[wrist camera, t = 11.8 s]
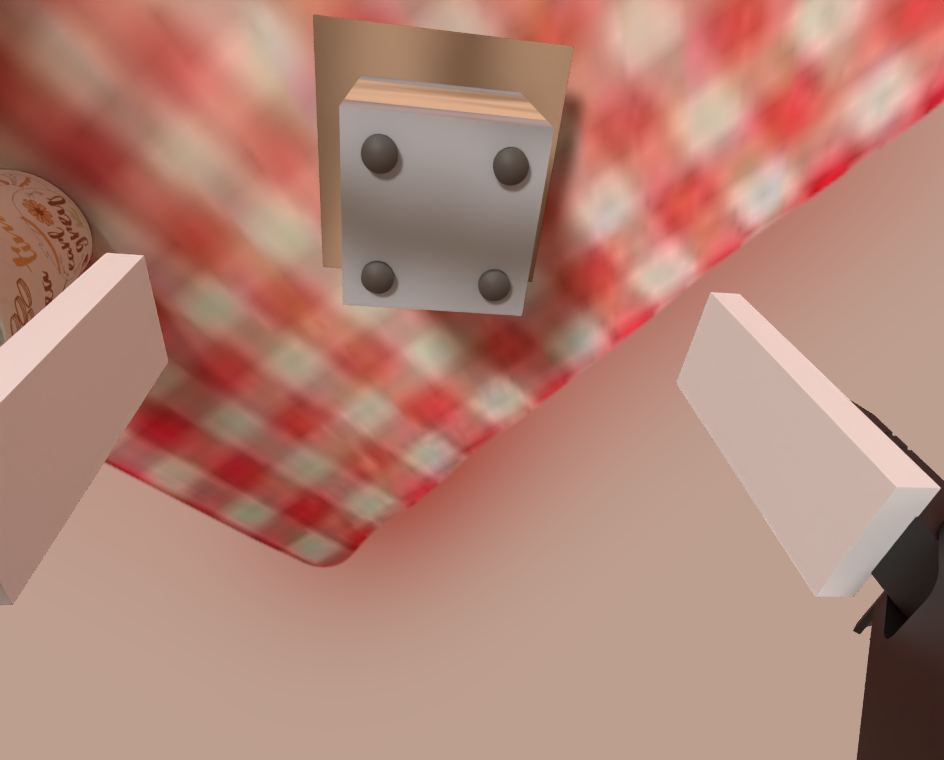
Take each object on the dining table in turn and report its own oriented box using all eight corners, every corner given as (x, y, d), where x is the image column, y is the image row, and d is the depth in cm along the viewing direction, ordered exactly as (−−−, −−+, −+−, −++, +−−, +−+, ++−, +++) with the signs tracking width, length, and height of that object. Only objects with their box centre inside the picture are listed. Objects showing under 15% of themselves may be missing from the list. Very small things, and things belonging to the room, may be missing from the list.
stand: (330, 245, 32) (323, 266, 29) (323, 13, 26) (312, 15, 23) (523, 260, 33) (531, 281, 31) (560, 41, 27) (574, 47, 25)
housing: (361, 74, 25) (337, 107, 18) (520, 92, 26) (556, 130, 19) (361, 232, 29) (342, 308, 22) (499, 242, 29) (522, 319, 23)
